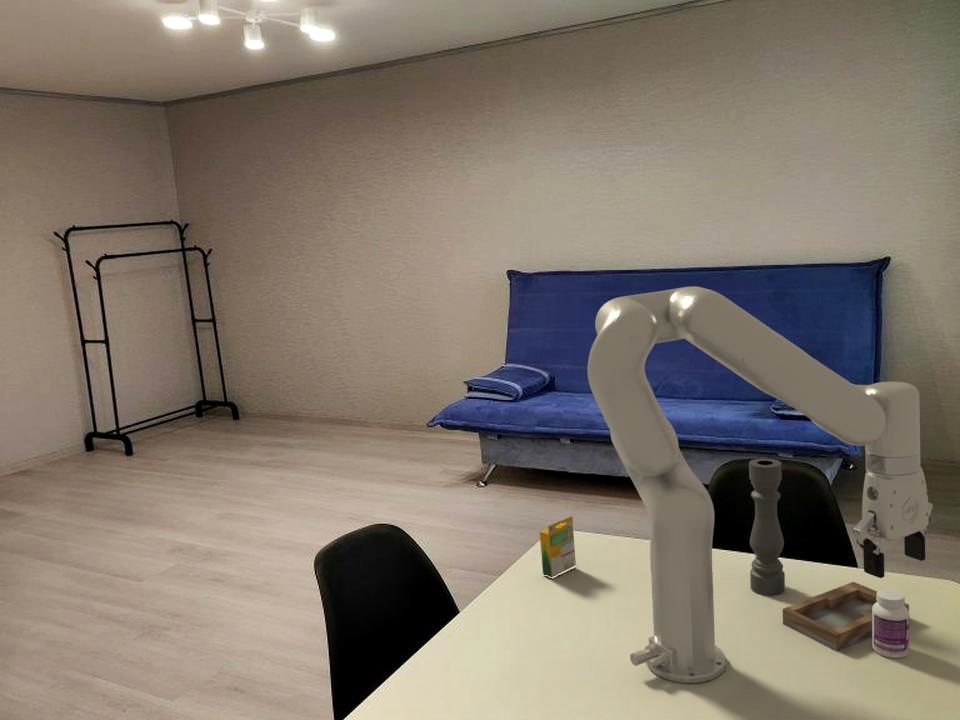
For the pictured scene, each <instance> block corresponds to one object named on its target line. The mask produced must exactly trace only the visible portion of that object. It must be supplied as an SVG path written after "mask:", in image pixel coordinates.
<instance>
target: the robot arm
mask: <svg viewBox="0 0 960 720" xmlns="http://www.w3.org/2000/svg"><path fill="white" fill-rule="evenodd" d="M594 325H595V326H594V327H595V331H596V334H597V335H596V337H595V340H594V341H593V343H592V346H591V348H590V352H589V356H588V361H587V379H588V384H589V387H590V390H591V392H592V395H593V397H594V400H595V402H596V404H597V406H598V408H599V411H600V412H601V415H602V417H603V419H604V421H605V423H606V425H607V427H608V429H609V430H610V431H609V432H610V439H611V442H612V445H613V446H614V448H615V451H616V453H617V454H618V456H619V459H620V460H621V462H622V464H623V466H624V468H625V470H626V472H627V474H628V475H629V477H630V479H631V481H632V483H633V485H634V487H635V489H636V491H637V493H638V494H639V497H640V498H641V500H642V502H643V504H644V506H645V509H646V510H647V512H648V515H649V519H650V521H649V522H650V546H649V547H650V549H649V551H650V552H649V555H650V575H651V578H650V579H651V596H652V599H651V600H652V617H653V618H652V619H653V622H652V623H653V636H651V637H648V645H646V646H645V648H644V649H641V650H638V651H635V652H633V653H630V654H629V655H630V656H629V657H630V658H629V659H630V662H631V664H632V665H633V666H635V667H638V666H640V665H642V664H645V663H646V665H647V667H648V669H650V671H651V672H653V673H654V674H655V675H657V676H658V677H661V678H664V679H666V680H669V681H673V682H676V683H683V684H684V683H685V684H694V683H704V682H708V681H710V680H713V679H716V678H717V677H718V676H720V675H721V674H722V673H723V672H724V670H725V669H726V665H727V664H726V663H727V661H726V656H725V653H724V652H723V650H722V649H721V648H720V647H718V646H717V645H716V642H715V641H716V639H715V638H716V637H715V610H714V609H715V608H714V607H715V604H714V602H715V601H714V576H713V575H714V573H713V538H714V537H713V536H714V528H715V509H714V507H715V506H714V504H713V501H712V498H711V495H710V494H709V492H708V489H706V486H704V484H703V483H702V482H701V481H700V480H699V479H698V477H697V476H696V475H695V473H693V471H692V470H691V468H690V466H689V465H688V463H687V461H686V459H685V457H684V455H683V453H682V452H681V449H680V447H679V440H678V437H677V433H676V431H675V429H674V427H673V425H672V424H671V422H670V421H669V420H668V418H667V417H666V415H665V413H664V411H663V410H662V407H661V405H660V404H659V402H658V400H657V398H656V396H655V394H654V391H653V388H652V387H651V385H650V382H649V380H648V378H647V375H646V370H645V369H646V368H645V367H646V361H647V358H648V356H649V355H650V353H651V351H652V349H653V348H654V346H655V344H661V343H666V342H673V341H677V340H678V341H679V340H683V339H685V340H686V341H688V342H689V343H690V344H692V345H693V346H695V347H696V348H698V349H699V350H700V351H702V352H704V353H705V354H706V355H708V356H710V357H711V358H713V359H714V360H715V361H717V362H718V363H720V364H721V365H723V366H725V367H726V368H727V369H729V370H730V371H731V372H733V373H734V374H736V375H737V376H738V377H741V379H743V380H744V381H746V382H748V383H749V384H751V385H752V386H754V387H755V388H757V389H758V390H760V391H762V392H763V393H765V394H767V395H769V396H771V397H773V398H775V399H777V400H779V401H781V402H783V403H785V404H786V405H788V406H790V407H792V408H793V409H795V411H798V412H800V413H801V414H802V415H804V416H805V417H806V418H808V419H810V421H811V422H812V423H813V424H814V425H816V426H817V427H819V429H821V430H822V431H825V432H826V433H828V434H829V435H832V436H833V437H835V438H837V439H838V440H840V441H841V442H843V443H844V444H847V445H851V446H857V447H861V446H862V447H863V446H864V447H865V448H864V449H865V476H864V480H863V488H862V489H863V490H862V491H863V492H862V500H861V501H862V502H861V503H862V504H861V506H862V507H861V513H862V515H861V520H859V521H858V523H857V524H856V525H855V526H854V528H852V529H853V530H852V533H853V535H854V538H855V539H856V543H857V545H859V546H860V550H862V552H863V555H862V556H863V571H864V573H865V574H869V575H871V576H874V577H876V578H879V579H883V578H884V577H885V553H884V552H882V550H883V547H884V546H885V544H886V541H889V542H895V541H898V540H901V539H904V541H903V542H904V555H905V556H907V557H908V558H912V559H915V560H918V561H921V562H923V561H925V560H926V536H927V534H928V532H929V531H928V525H929V523H930V522H931V517H930V516H931V514H932V510H933V507H934V505H933V503H931V502H929V497H928V488H927V483H926V477H925V473H924V470H923V468H922V467H921V427H920V426H921V422H920V421H921V420H920V419H921V415H920V414H921V413H920V410H921V409H920V392H919V391H918V388H917V387H916V386H914V385H913V384H911V383H908V382H902V381H880V382H876V383H872V384H867V385H866V384H853V383H851V382H850V381H849V380H847V379H846V378H844V377H842V376H841V375H839V373H837V372H835V371H833V370H832V369H831V368H829V367H827V365H825V364H823V363H821V362H820V361H818V360H817V359H815V358H813V357H812V356H811V355H810V354H809V353H807V352H805V350H803V349H802V348H800V347H799V346H798V345H796V344H795V343H793V342H791V341H790V340H789V339H787V338H785V337H784V336H783V335H781V334H780V333H778V332H776V331H775V330H773V329H772V328H771V327H769V326H767V325H766V324H765V323H764V322H762V321H761V320H759V319H758V318H756V317H755V316H753V315H752V314H751V313H749V312H748V311H746V310H745V309H743V308H742V307H740V306H738V305H737V303H734V302H733V301H732V300H730V299H729V298H727V297H726V296H724V295H722V294H721V293H719V292H717V291H715V290H713V289H708V288H704V287H701V286H694V285H693V286H684V287H677V288H671V289H665V290H660V291H653V292H646V293H640V294H633V295H625V296H619V297H615V298H613V299H610V300H609V301H607V302H606V303H604V304H603V305H602V306H601V307H599V310H598V312H597V314H596V318H595V322H594ZM873 538H877V540H876V542H875V543H874V542H873V541H872V540H873Z"/></svg>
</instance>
